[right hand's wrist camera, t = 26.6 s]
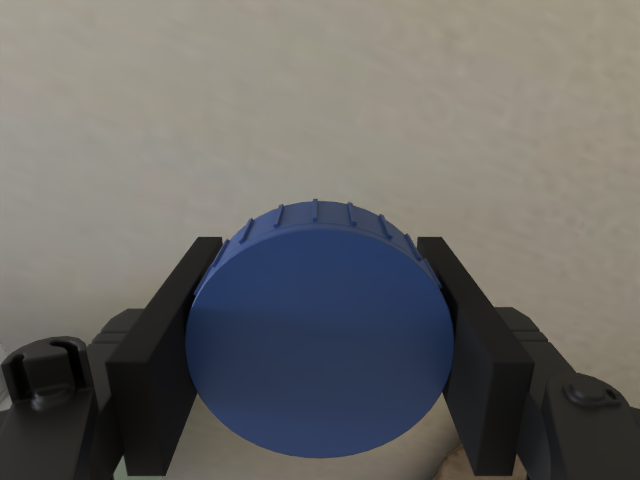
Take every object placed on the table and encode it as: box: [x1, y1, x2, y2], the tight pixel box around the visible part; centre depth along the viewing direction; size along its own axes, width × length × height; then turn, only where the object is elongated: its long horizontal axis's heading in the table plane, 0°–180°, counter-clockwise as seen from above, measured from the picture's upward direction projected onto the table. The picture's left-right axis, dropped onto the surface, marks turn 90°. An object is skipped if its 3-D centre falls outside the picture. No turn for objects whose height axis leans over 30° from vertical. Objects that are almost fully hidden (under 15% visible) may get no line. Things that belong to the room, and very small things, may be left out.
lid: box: [185, 199, 455, 458], centre depth 11 cm, size 6×6×2 cm
